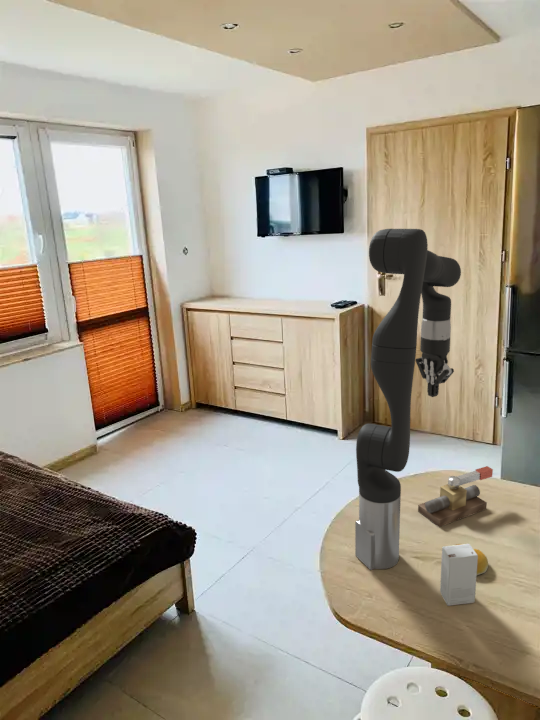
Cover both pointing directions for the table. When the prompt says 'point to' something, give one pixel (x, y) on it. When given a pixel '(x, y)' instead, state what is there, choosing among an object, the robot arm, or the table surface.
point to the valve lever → (469, 477)
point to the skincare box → (458, 574)
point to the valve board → (453, 514)
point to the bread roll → (481, 562)
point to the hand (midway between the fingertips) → (432, 395)
